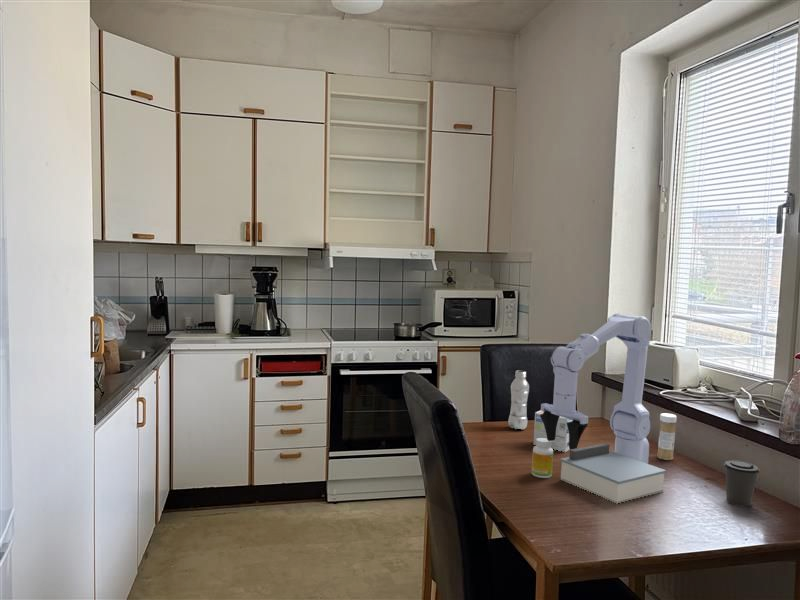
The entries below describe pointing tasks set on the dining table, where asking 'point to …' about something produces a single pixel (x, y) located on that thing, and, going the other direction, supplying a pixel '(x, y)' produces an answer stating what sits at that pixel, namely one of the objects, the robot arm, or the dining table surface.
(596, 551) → the dining table surface
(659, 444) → the sprinkles bottle
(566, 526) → the dining table surface
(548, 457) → the supplement bottle
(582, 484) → the white square shallow box
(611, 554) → the dining table surface
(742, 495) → the coffee cup
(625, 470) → the lid
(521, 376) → the plastic bottle
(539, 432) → the light bulb box
